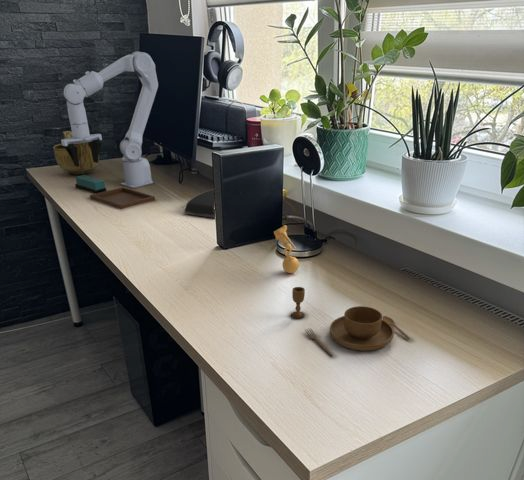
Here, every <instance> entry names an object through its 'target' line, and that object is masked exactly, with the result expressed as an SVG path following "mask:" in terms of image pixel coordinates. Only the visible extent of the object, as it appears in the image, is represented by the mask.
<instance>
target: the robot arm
mask: <svg viewBox="0 0 524 480" xmlns="http://www.w3.org/2000/svg"><path fill="white" fill-rule="evenodd" d="M123 72H133V73H135V74H136V75H137V76H138V79H139V81H140V82H141V85H142V86H141V90H140V93H139V96H138V100H137V103H136V105H135V109H134V112H133V116H132V119H131V122H130V126H129V128H128V130H127V132H126V133H125V136H124V138H123V139H122V140H121V141H120V143H119V151H120V153H121V154H122V158H121V162H122V169H123V170H122V171H123V177H124V182H120V185H122V186H125V187H127V188H130V189H131V188H132V189H135V188H138V187H143V186H146V185H150V184H151V185H152V184H154V181H153V179H152V172H151V171H152V170H151V165H150V162H149V160H148V159H147V158H145V157H142V154H143V153H142V151H143V150H142V145H143V135H144V132H145V129H146V125H147V123H148V119H149V117H150V115H151V110H152V107H153V104H154V102H155V98H156V94H157V91H158V89H159V81H158V76H157V71H156V64H155V62H154V61H153V58H152V57H151V55H150V54H149V53H148V52H147V53H146V52H144V51H143V52H142V51H138V50H136V51H134V52H131V54H130V53H129V54H127V55H125V56H122V57H120V58H118V59H116V61H114V62H112V63H110V65H108V66H107V67H104V68H103V69H102V70H100V71H99V72H96V71H94V70H91V71H89V70H87V71H86V72H84V75H83V76H81V77H80V78H78V79H73V80H72V82H73V83H68V84H66V85H65V87H64V88H63V97H64V98H65V100H66V107H67V114H68V119H69V124H70V131H71V132H72V135H73V137H70V138H67V139H64V138H62V139H60V141H61V144H62V146H64V148H65V149H66V151H67V152H68V153H69V155H70V157H71V159H72V161H73V163H74V165H75V166H76V167H79V160H78V147H76V146H75V145H74V144H79V143H85V142H88V143H89V146H90V149H91V152H92V158H93V161H94V162H95V163H98V164H99V161H98V158H99V159H100V151H101V147H102V144H103V143H102V141H103V137H102V134H101V133H93V134H92V133H91V132H90V128H89V123H88V118H87V112H86V108H85V104H84V99H85V98H88V97H90V96H92V95H93V94H95V93H97V92H99V91H101V90H102V89H103V87H104V83H105V82H107V81H108V80H111V79H112V78H115V77H116V76H118V75H120V74H121V73H123ZM90 133H91V134H90Z"/></svg>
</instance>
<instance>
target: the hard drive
mask: <svg viewBox="0 0 524 480" xmlns="http://www.w3.org/2000/svg"><path fill="white" fill-rule="evenodd" d="M214 189H215V188H212V189H209V190H206V191H204V192H201V193H199V194H197V195H195V196H194V197H192V198H191V199H189V200H187V202H186V204H185V207H184V210H183V214H186V215H193V216H200V217H206V218H212V219H216V218H215V209H214Z"/></svg>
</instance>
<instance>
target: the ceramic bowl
mask: <svg viewBox="0 0 524 480" xmlns="http://www.w3.org/2000/svg"><path fill="white" fill-rule="evenodd" d="M61 132H62V133H61V134H62V135H61V136H62V139H67V138H70V137H73V135H72V130H65V131H61ZM74 145H75V146H76V147H78V160H79V167H76V166H75V165H74V163H73V161H72V159H71V157H70V155H69V153H68V152H67V151H66V149H65V148H64V146H62V143H58V144H55V145H53V147H52V148H53V154H54V158H55V162H56V163H57V165H58V166H59V167H60V169H62V170H63V171H64V172H67V173H69V174H72V175H75V176H76V175H77V176H82V175H88V174H90V173H92V172H93V171H95V169H96V168H97V167H98V165H99V161H100V157H99V158H98V163H95V162H94V161H93V158H92V152H91V149H90V146H89V143H88V142H85V143H79V144H74Z"/></svg>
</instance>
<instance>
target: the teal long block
mask: <svg viewBox="0 0 524 480" xmlns="http://www.w3.org/2000/svg"><path fill="white" fill-rule="evenodd" d="M75 182H76V183H75V184H74V185H75V188H76V189H79V190H83V191H87V192H88V193H89V192H90V193H91V194H96V193H100V192H104V191H107V188H106V185H105V181H104V180H103V179H99V178H97V177H92V176H89V175H87V174H83V175H77V176H75Z"/></svg>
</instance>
